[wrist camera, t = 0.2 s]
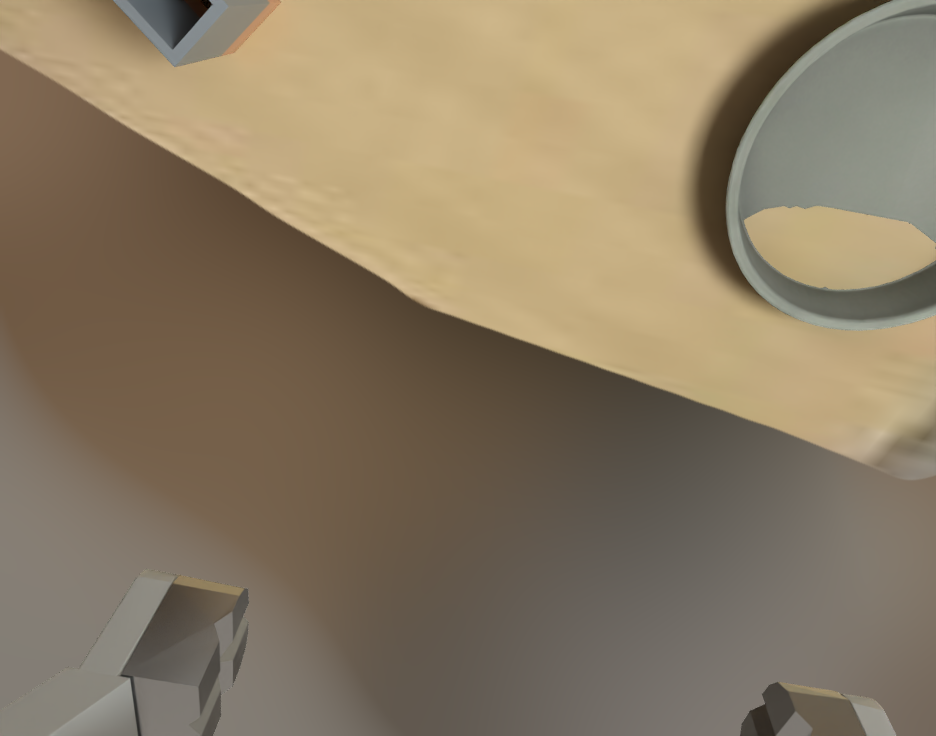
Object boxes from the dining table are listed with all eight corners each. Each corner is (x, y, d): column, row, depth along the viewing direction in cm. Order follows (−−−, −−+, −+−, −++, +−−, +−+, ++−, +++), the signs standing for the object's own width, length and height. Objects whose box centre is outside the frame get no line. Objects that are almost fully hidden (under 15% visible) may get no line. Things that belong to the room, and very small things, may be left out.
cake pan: (668, 97, 50) (681, 107, 46) (1033, -92, 43) (1084, -99, 39) (761, 350, 60) (778, 375, 56) (1068, 232, 53) (1111, 252, 49)
